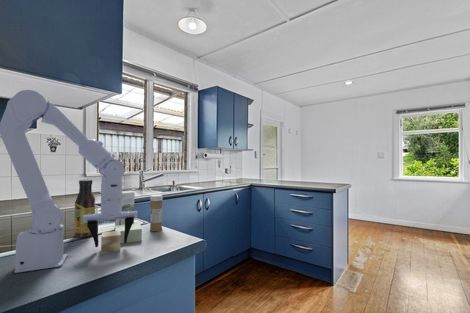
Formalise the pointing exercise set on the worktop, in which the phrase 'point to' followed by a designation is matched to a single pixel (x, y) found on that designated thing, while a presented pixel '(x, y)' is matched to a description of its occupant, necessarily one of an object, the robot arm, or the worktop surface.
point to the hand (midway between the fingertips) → (111, 244)
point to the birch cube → (110, 242)
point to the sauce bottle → (83, 207)
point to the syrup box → (126, 205)
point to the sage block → (130, 233)
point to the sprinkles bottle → (156, 212)
